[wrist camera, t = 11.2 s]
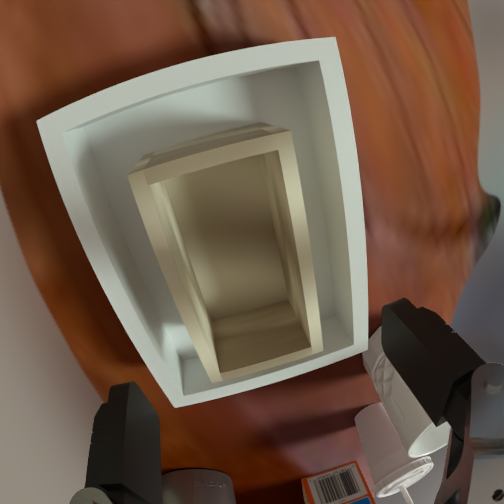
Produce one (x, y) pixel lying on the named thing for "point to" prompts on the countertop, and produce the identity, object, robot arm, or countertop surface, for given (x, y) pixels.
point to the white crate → (198, 125)
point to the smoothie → (388, 454)
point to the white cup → (402, 404)
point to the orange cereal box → (337, 486)
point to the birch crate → (234, 246)
